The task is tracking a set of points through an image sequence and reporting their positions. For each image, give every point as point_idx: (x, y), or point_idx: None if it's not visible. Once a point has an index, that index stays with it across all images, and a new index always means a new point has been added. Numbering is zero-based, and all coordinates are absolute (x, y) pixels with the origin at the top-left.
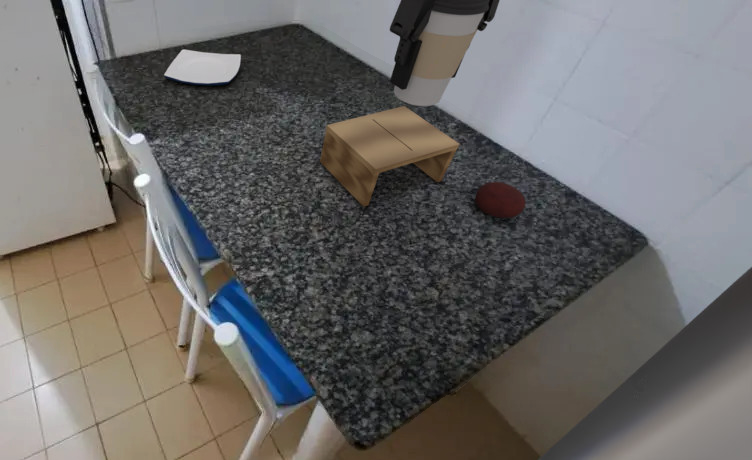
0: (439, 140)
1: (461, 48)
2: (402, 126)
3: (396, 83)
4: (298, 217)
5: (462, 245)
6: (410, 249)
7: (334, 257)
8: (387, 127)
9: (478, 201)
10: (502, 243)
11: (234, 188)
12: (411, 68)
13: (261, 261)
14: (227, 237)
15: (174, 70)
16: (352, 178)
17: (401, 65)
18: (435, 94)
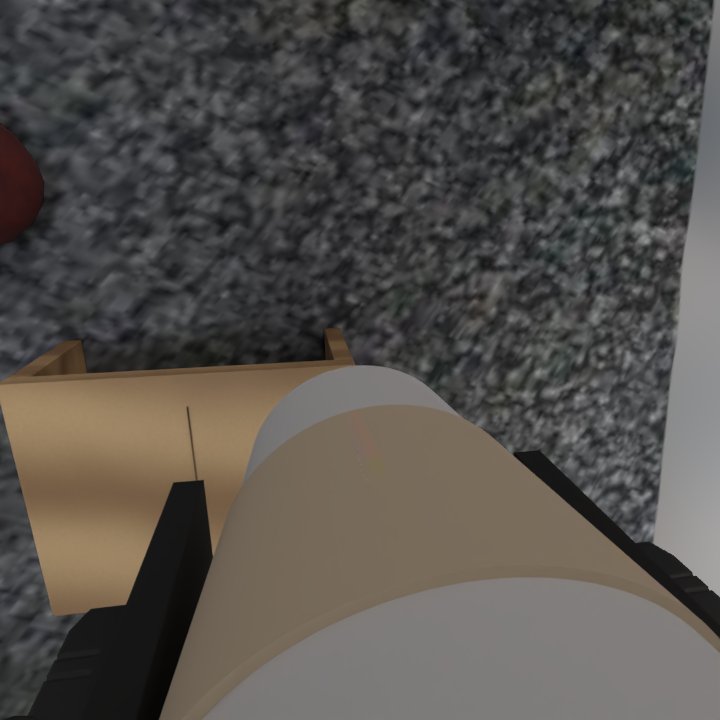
0: (57, 423)
1: (434, 494)
2: (135, 520)
3: None
4: (499, 350)
5: (179, 107)
6: (321, 156)
7: (500, 210)
8: None
9: (40, 201)
10: (56, 60)
11: (570, 477)
12: (583, 514)
13: (637, 262)
14: (657, 349)
15: None
16: None
17: (646, 542)
18: (384, 381)
